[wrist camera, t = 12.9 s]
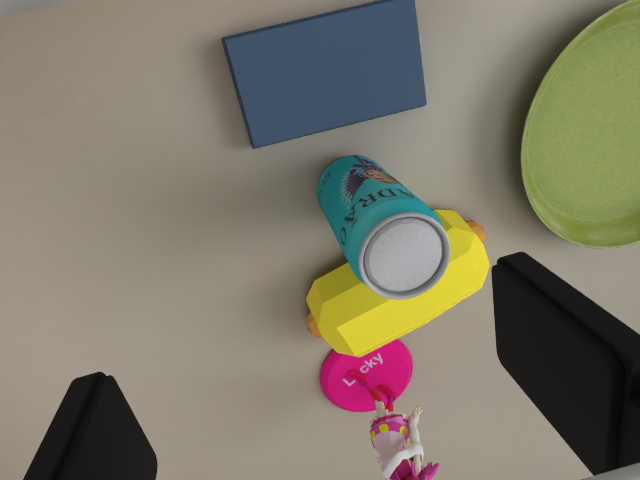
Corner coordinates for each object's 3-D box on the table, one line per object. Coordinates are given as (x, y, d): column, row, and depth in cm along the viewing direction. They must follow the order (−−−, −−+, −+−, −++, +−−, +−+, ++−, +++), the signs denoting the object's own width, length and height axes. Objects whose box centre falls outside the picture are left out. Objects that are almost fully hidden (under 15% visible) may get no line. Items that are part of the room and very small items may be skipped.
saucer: (747, -19, 37) (791, -25, 34) (693, 217, 45) (724, 229, 42) (508, 10, 35) (532, 6, 32) (497, 252, 43) (515, 266, 40)
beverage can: (381, 148, 37) (460, 203, 23) (381, 213, 39) (453, 298, 26) (312, 153, 36) (352, 213, 23) (316, 220, 39) (354, 310, 25)
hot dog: (283, 289, 41) (325, 346, 44) (290, 330, 35) (338, 393, 38) (457, 186, 40) (487, 252, 43) (496, 210, 33) (528, 286, 36)
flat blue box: (222, 38, 32) (220, 37, 31) (407, -6, 33) (416, -9, 31) (252, 146, 36) (252, 151, 34) (421, 104, 36) (429, 106, 35)
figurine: (372, 315, 43) (431, 435, 30) (430, 368, 47) (506, 498, 33) (300, 377, 45) (324, 519, 31) (361, 424, 48) (407, 570, 35)
